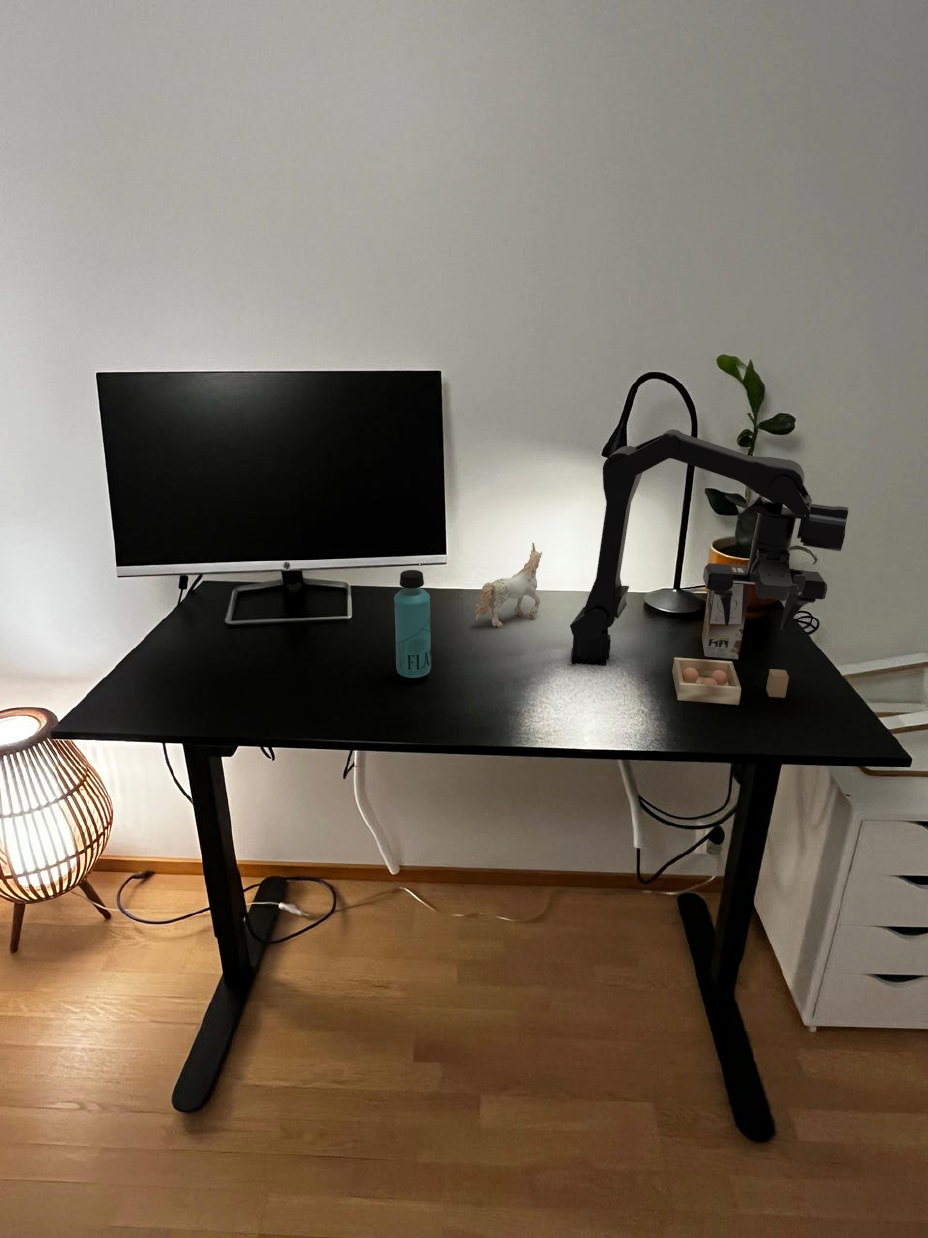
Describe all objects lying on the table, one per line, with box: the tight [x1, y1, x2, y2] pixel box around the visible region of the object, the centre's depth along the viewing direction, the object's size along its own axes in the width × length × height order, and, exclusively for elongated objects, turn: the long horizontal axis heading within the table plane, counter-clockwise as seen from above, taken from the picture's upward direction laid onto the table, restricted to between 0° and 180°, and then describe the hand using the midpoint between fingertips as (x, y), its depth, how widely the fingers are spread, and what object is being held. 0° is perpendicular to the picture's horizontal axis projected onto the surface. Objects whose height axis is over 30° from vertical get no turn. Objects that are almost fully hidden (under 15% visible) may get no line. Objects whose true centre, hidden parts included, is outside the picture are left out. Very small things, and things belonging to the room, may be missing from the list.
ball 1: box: [682, 668, 699, 683], centre depth 142 cm, size 3×3×3 cm
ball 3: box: [711, 670, 728, 686], centre depth 141 cm, size 3×3×3 cm
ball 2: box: [701, 678, 718, 685], centre depth 139 cm, size 3×3×3 cm
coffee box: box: [701, 562, 752, 660], centre depth 152 cm, size 9×6×16 cm
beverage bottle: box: [393, 569, 433, 679], centre depth 141 cm, size 6×7×20 cm
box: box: [672, 657, 742, 706], centre depth 140 cm, size 10×10×4 cm
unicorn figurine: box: [474, 542, 543, 629], centre depth 166 cm, size 7×20×13 cm, turn 139°
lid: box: [765, 668, 790, 699], centre depth 139 cm, size 10×10×5 cm
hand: (754, 627), depth 137 cm, fingers open, 9 cm apart
